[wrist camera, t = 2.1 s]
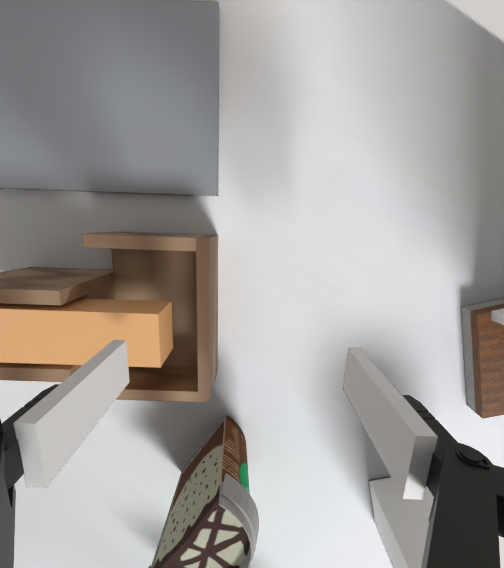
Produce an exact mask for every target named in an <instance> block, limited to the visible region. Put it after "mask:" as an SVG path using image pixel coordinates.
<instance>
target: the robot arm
mask: <svg viewBox="0 0 504 568" xmlns="http://www.w3.org/2000/svg"><path fill="white" fill-rule="evenodd" d="M129 382H130V381H129V369H128V356H127V343H126V340H113V341H111V342H110V343H109V344H108V345H107V346H105V347H104V348H103V349H102V350H101V351H99V352H98V353H97V354H96V355H95V356H93V357H92V358H91V359H90V360H89V361H87V362H86V363H85V364H84V365H82V366H81V367H80V368H79V369H78V370H76V371H75V372H74V373H73V374H72V375H70V376H69V377H68V378H67V379H66V380H64V381H63V382H62V383H61V384H60V385H57V384H55V385H53V386H52V387H50V388H48V389H46V390H44V391H42V392H41V393H40V394H38V395H37V396H36V397H35V398H33V400H32V401H30V402H28V403H27V404H26V405H25V406H24V407H22V408H21V409H19V410H18V411H17V412H16V413H14V414H13V415H12V416H11V417H9V418H8V419H7V420H6V421H4V422H3V423H2V424H1V420H0V568H13V564H14V530H15V497H16V491H15V486H14V484H15V483H16V482H17V481H18V480H19V478H20V477H21V476H22V475H23V474H24V479H25V484H26V487H36V488H47V487H48V486H49V485H50V483H51V482H52V481H53V479H54V478H55V477H56V476H57V474H58V473H59V472H60V470H61V469H62V468H63V467H64V465H65V464H66V463H67V461H68V460H69V459H70V458H71V456H72V455H73V454H74V453H75V451H76V450H77V449H78V447H79V446H80V445H81V444H82V442H83V441H84V440H85V438H86V437H87V436H88V435H89V433H90V432H91V431H92V429H93V428H94V427H95V426H96V424H97V423H98V422H99V420H100V419H101V418H102V417H103V415H104V414H105V413H106V411H107V410H108V409H109V408H110V406H111V405H112V404H113V402H114V401H115V400H116V399H117V397H118V396H119V395H120V394H121V392H122V391H123V390H124V388H125V387H126V386H127V385H128V383H129ZM343 390H344V392H345V393H346V395H347V397H348V399H349V401H350V403H351V405H352V406H353V408H354V410H355V412H356V414H357V416H358V417H359V419H360V421H361V423H362V425H363V427H364V428H365V430H366V432H367V434H368V436H369V438H370V440H371V441H372V443H373V445H374V447H375V449H376V451H377V452H378V454H379V456H380V458H381V460H382V462H383V463H384V465H385V467H386V469H387V471H388V473H389V474H390V476H391V478H392V480H393V482H394V484H395V486H396V487H397V489H398V491H399V493H400V495H401V497H402V498H403V499H418V500H424V495H425V491H426V486H427V488H428V489H429V491H430V492H431V494H432V495H433V497H434V499H433V504H432V508H431V512H430V516H429V520H428V521H429V526H428V531H427V537H426V543H425V548H424V554H423V559H422V565H421V568H500V555H499V537H498V536H501V537H504V468H503V467H499V466H495V465H493V464H492V463H491V462H490V461H489V459H488V458H487V457H486V456H484V455H483V454H482V453H480V452H479V451H477V450H475V449H474V448H472V447H470V446H467V445H464V444H461V443H458V442H457V441H456V440H455V439H454V438H453V437H452V436H451V435H450V434H449V433H448V432H447V430H446V429H445V428H444V427H443V426H442V425H441V424H440V423H439V422H438V421H437V420H435V418H434V417H433V415H432V414H431V413H429V412H428V410H427V409H426V408H425V407H424V406H423V405H422V404H421V403H420V402H419V401H417V400H416V399H414V398H413V397H411V396H410V395H401V394H400V392H399V391H398V390H397V389H396V388H395V387H394V386H393V384H392V383H391V382H390V381H389V380H388V379H387V377H386V376H385V375H384V374H383V373H382V372H381V371H380V369H379V368H378V367H377V366H376V365H375V364H374V362H373V361H372V360H371V359H370V358H369V357H368V355H367V354H366V353H365V352H364V351H363V350H362V349H361V348H348V354H347V361H346V369H345V377H344V385H343Z"/></svg>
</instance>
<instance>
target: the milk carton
mask: <svg viewBox="0 0 504 568" xmlns="http://www.w3.org/2000/svg"><path fill="white" fill-rule="evenodd" d="M369 485H370V492H371V499H372V505H373V512H374V518H375V524H376V527H377V530H378V532H379V535H380V537H381V540H382V542H383V545H384V547H385V550H386V552H387V554H388V557H389V559H390V562H391V564H392V567H393V568H421V565H422V559H423V554H424V548H425V543H426V537H427V531H428V526H429V521H428V520H429V516H430V512H431V508H432V504H433V499H434V497H433V495H432V494H431V492H430V491H429V489H428V488H427V486H426V491H425V495H424V500H418V499H403V498H402V497H401V495H400V493H399V491H398V489H397V487H396V486H395V484H394V482H393V480H392V478H391V477H390V478H384V479H378V480H373V481H369Z"/></svg>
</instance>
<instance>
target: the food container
mask: <svg viewBox="0 0 504 568" xmlns="http://www.w3.org/2000/svg"><path fill="white" fill-rule="evenodd" d="M258 529H259V517H258V511H257V508H256V505H255V503H254V501H253V499H252V497H251V496H250V494H249V480H248V465H247V450H246V441H245V437H244V434H243V432H242V431H241V429H240V427H239V426H238V425H237V424H236V423H235V422H234V421H233V420H232V419H230V418H229V417H228V416H225V417H224V418H223V420H222V421H221V422H220V423H219V425H218V426H217V427H216V429H215V430H214V431H213V432H212V434H211V435H210V436H209V438H208V439H207V440H206V441H205V443H204V444H203V445H202V447H201V448H200V449H199V450H198V452H197V453H196V454H195V455H194V457H193V458H192V459H191V461H190V462H189V463H188V464H187V466H186V467H185V468H184V470H183V471H182V472H181V475H180V478H179V481H178V485H177V488H176V491H175V494H174V497H173V500H172V503H171V506H170V510H169V513H168V516H167V519H166V522H165V525H164V528H163V531H162V534H161V538H160V541H159V544H158V547H157V550H156V553H155V556H154V559H153V562H152V566H149V568H249V566H250V563H251V560H252V559H253V555H254V552H255V547H256V541H257V535H258Z"/></svg>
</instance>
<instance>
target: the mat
mask: <svg viewBox="0 0 504 568" xmlns="http://www.w3.org/2000/svg"><path fill="white" fill-rule="evenodd" d="M218 141H219V4H218V2H205V1H180V0H0V188H7V189H35V190H63V191H91V192H119V193H147V194H175V195H203V196H218Z"/></svg>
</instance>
